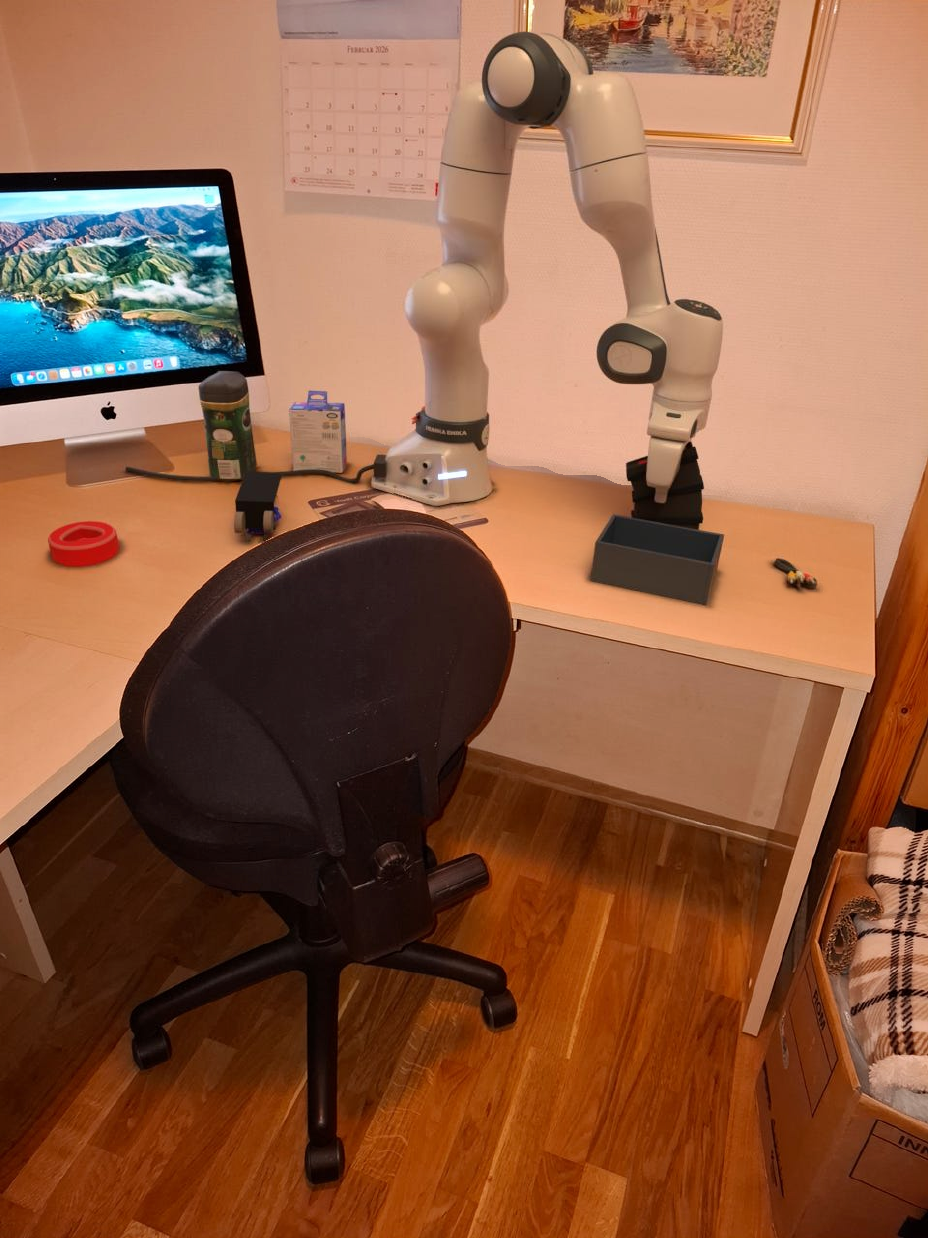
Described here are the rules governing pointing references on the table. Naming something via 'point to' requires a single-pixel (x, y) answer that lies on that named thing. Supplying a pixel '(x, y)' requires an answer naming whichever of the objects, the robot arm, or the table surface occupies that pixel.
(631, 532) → the box
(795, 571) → the composite cable
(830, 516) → the table surface
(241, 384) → the coffee jar
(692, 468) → the magazine
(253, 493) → the toy wheeled vehicle
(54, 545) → the decorative ornament
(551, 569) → the table surface
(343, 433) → the ink cartridge box
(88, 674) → the table surface
